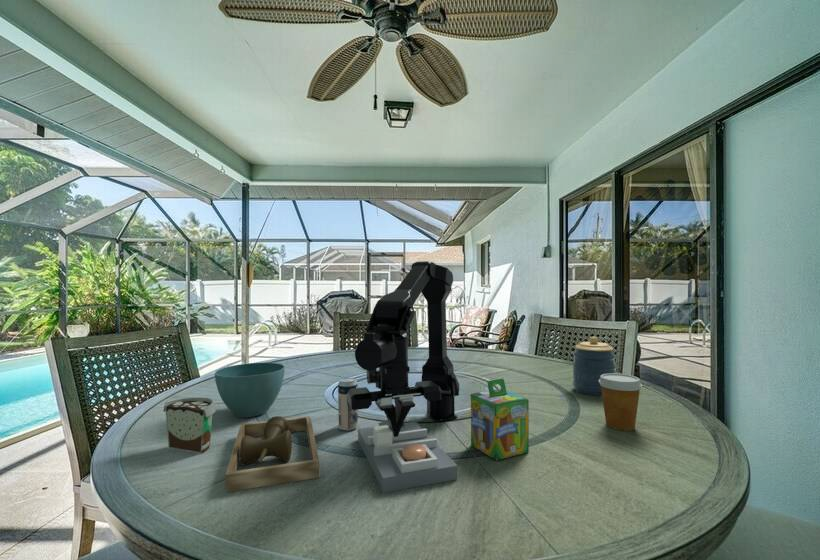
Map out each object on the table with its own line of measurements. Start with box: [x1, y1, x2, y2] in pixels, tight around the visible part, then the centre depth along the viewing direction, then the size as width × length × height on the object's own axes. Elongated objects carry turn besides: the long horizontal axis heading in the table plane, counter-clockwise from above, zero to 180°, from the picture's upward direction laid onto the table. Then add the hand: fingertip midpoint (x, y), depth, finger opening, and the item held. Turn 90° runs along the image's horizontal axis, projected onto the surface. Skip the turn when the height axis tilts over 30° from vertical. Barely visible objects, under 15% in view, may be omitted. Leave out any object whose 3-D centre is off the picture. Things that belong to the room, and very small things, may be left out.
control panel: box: [357, 421, 458, 494], centre depth 82 cm, size 14×24×4 cm, turn 18°
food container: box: [162, 396, 216, 455], centre depth 89 cm, size 12×6×10 cm, turn 71°
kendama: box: [239, 415, 293, 466], centre depth 85 cm, size 6×10×20 cm
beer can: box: [337, 377, 359, 432], centre depth 99 cm, size 5×5×12 cm
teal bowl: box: [214, 362, 286, 418], centre depth 111 cm, size 18×18×12 cm
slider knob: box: [372, 425, 392, 447], centre depth 81 cm, size 3×4×4 cm
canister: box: [572, 336, 617, 397], centre depth 129 cm, size 13×13×18 cm
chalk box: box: [469, 378, 530, 462], centre depth 86 cm, size 9×9×15 cm
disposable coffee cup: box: [599, 373, 643, 431], centre depth 98 cm, size 10×10×12 cm
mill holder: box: [225, 415, 320, 493], centre depth 84 cm, size 16×26×3 cm, turn 18°
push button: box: [402, 444, 426, 462], centre depth 74 cm, size 4×4×2 cm
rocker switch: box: [378, 419, 405, 430], centre depth 90 cm, size 5×4×1 cm
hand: (395, 436), depth 81 cm, fingers closed
